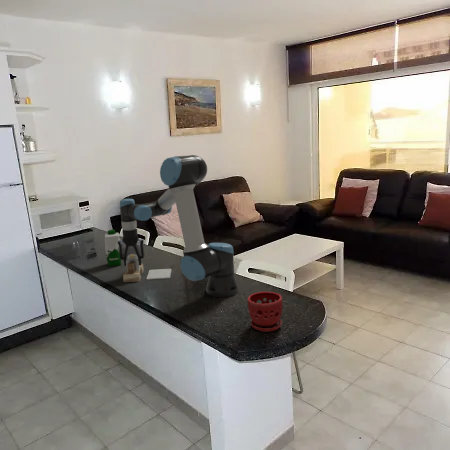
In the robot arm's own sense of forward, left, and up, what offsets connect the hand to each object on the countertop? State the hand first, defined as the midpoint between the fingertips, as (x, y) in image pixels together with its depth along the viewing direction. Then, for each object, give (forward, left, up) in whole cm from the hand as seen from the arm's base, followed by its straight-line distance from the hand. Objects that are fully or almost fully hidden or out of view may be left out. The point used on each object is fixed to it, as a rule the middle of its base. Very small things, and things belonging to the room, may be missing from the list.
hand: (133, 271), depth 217 cm
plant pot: (-67, -59, -3) cm, 90 cm away
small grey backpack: (+47, +10, -3) cm, 48 cm away
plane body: (0, 0, -3) cm, 3 cm away
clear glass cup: (0, 0, +1) cm, 1 cm away
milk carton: (+23, +15, -3) cm, 27 cm away
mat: (0, -13, -3) cm, 14 cm away
